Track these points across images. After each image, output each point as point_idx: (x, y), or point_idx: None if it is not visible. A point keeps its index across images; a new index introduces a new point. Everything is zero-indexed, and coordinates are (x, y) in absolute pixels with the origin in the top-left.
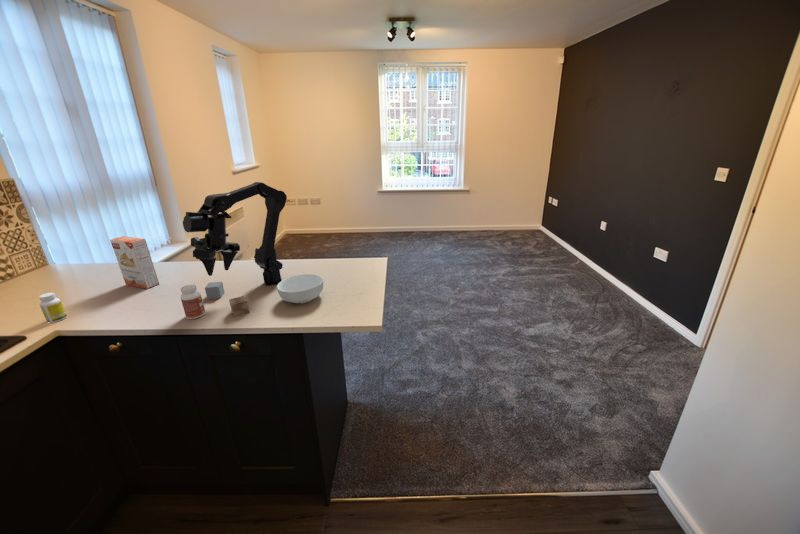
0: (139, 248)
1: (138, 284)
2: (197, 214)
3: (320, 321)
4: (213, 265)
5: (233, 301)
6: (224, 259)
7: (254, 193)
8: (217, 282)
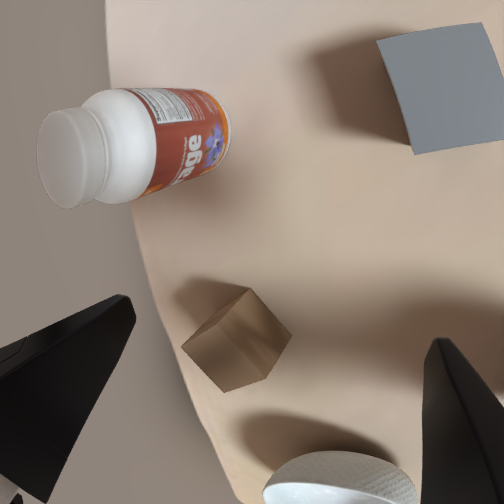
0: None
1: None
2: None
3: (237, 471)
4: (69, 426)
5: (204, 347)
6: (476, 474)
7: None
8: (498, 101)
